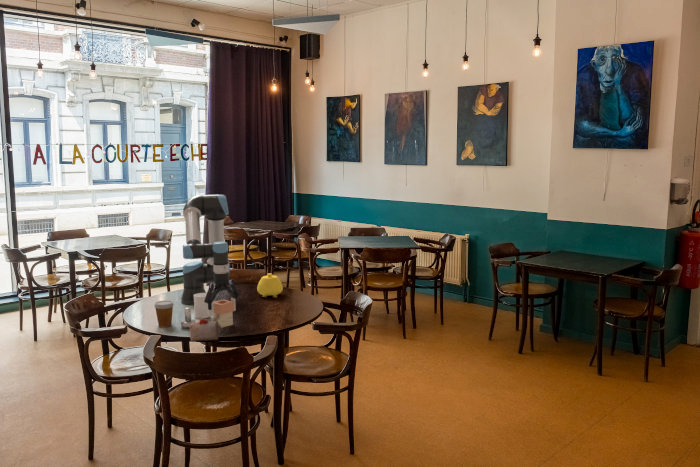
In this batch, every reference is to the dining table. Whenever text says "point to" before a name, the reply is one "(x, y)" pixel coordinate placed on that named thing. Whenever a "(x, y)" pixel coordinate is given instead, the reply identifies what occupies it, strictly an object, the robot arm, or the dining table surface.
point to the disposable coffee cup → (164, 313)
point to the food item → (204, 330)
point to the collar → (223, 306)
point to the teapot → (269, 285)
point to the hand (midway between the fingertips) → (222, 313)
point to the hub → (187, 319)
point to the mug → (200, 306)
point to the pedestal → (223, 319)
